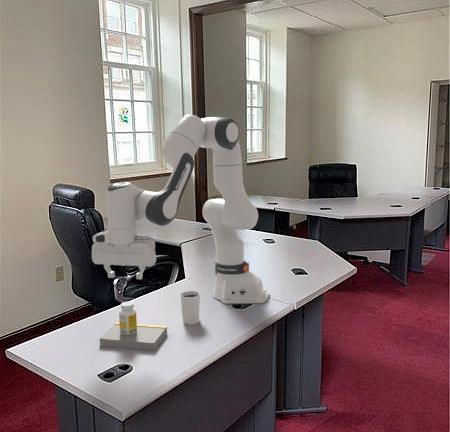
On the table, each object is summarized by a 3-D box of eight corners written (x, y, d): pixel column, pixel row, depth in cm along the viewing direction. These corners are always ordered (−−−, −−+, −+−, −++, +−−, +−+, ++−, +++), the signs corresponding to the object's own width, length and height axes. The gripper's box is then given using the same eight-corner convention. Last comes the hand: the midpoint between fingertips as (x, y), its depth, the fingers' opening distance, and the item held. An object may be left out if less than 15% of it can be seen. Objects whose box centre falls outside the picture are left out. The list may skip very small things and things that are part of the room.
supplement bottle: (119, 336, 145) (117, 307, 144) (121, 328, 151) (119, 301, 149) (136, 334, 146) (134, 306, 144) (137, 327, 151) (136, 300, 149)
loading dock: (167, 333, 152) (166, 326, 152) (154, 350, 141) (154, 342, 140) (116, 329, 156) (115, 322, 155) (100, 345, 144) (99, 337, 144)
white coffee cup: (186, 316, 166) (185, 289, 164) (203, 318, 164) (202, 292, 162) (178, 323, 160) (177, 296, 158) (195, 326, 158) (194, 298, 156)
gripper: (158, 233, 143) (160, 276, 146) (97, 232, 147) (100, 273, 150) (150, 238, 137) (153, 283, 140) (87, 236, 141) (91, 279, 144)
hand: (125, 278), depth 145 cm, fingers open, 8 cm apart
